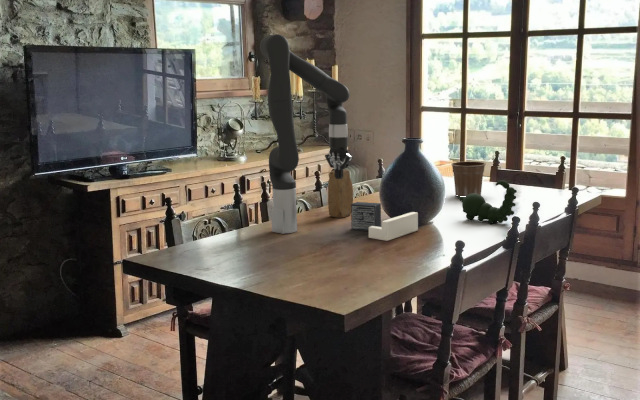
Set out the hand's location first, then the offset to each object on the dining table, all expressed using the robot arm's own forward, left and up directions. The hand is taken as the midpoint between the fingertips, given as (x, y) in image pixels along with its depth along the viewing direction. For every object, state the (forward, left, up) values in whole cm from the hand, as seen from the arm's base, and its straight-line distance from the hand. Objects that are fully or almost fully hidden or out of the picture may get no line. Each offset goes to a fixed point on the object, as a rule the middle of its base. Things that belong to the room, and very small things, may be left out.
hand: (339, 178), depth 276 cm
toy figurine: (+39, -45, -19) cm, 62 cm away
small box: (0, -14, -19) cm, 24 cm away
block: (+14, +10, -19) cm, 26 cm away
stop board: (0, -26, -19) cm, 33 cm away
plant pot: (+85, -12, -19) cm, 88 cm away
